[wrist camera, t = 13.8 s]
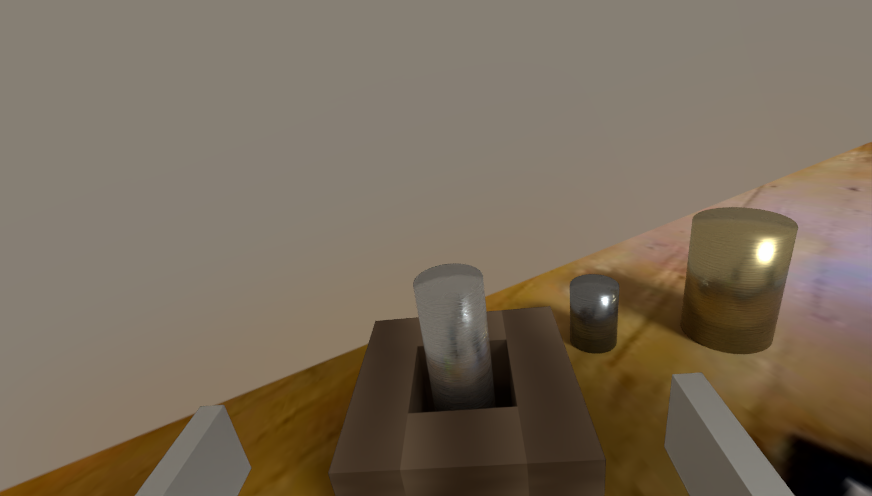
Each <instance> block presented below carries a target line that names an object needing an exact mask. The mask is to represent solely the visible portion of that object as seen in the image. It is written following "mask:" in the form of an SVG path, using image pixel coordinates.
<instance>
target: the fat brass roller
mask: <svg viewBox="0 0 872 496" xmlns="http://www.w3.org/2000/svg"><path fill="white" fill-rule="evenodd" d="M797 230H798V225H797V224H796V222H795V221H793V220H792V219H790V218H788V217H786V216H784V215H781V214H778V213H774V212H770V211H765V210H760V209H752V208H738V207H729V208H716V209H710V210H705V211H702V212H700V213H698V214H696V215H695V216H694V217H693V220H692V229H691V237H690V246H689V255H688V263H687V272H686V280H685V289H684V297H683V306H682V314H681V328H682V330H683V331H684V333H685V334H686V335H687V336H688V337H689V338H691V339H692V340H694V341H695V342H697V343H699V344H701V345H703V346H705V347H708V348H710V349H714V350H717V351H721V352H726V353H733V354H751V353H757V352H761V351H763V350H765V349H767V348H768V347H770V345H771V344H772V341H773V337H774V332H775V328H776V324H777V319H778V315H779V310H780V306H781V301H782V297H783V292H784V288H785V283H786V279H787V274H788V270H789V266H790V261H791V257H792V252H793V248H794V243H795V239H796V234H797Z"/></svg>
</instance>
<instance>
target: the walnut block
mask: <svg viewBox="0 0 872 496" xmlns="http://www.w3.org/2000/svg"><path fill="white" fill-rule="evenodd" d="M486 313H487V324H488V334H489V344H490V354H491V364H492V374H493V384H494V394H495V404H496V408H487V409H471V410H455V411H440V412H435V407H434V401H433V395H432V389H431V384H430V378H429V372H428V367H427V361H426V355H425V349H424V344H423V338H422V332H421V327H420V321H419V317H418V318H406V319H394V320H383V321H376V322H375V324H374V328H373V331H372V334H371V337H370V340H369V344H368V347H367V350H366V353H365V357H364V360H363V363H362V366H361V369H360V373H359V376H358V379H357V382H356V386H355V389H354V392H353V395H352V398H351V402H350V405H349V408H348V411H347V414H346V418H345V421H344V424H343V427H342V431H341V434H340V437H339V440H338V443H337V447H336V450H335V453H334V456H333V460H332V463H331V466H330V469H329V472H328V475H329V478H330V481H331V484H332V487H333V490H334V493H335V496H604V491H605V466H606V459H605V456H604V453H603V451H602V448H601V445H600V442H599V440H598V437H597V434H596V431H595V429H594V426H593V423H592V420H591V418H590V415H589V412H588V409H587V406H586V404H585V401H584V398H583V395H582V393H581V390H580V387H579V384H578V382H577V379H576V376H575V373H574V371H573V368H572V365H571V362H570V360H569V357H568V354H567V351H566V348H565V346H564V343H563V340H562V337H561V335H560V332H559V329H558V326H557V324H556V321H555V318H554V315H553V313H552V310H551V307H550V306H548V307H536V308H524V309H513V310H501V311H489V312H486Z"/></svg>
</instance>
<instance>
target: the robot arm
mask: <svg viewBox="0 0 872 496" xmlns="http://www.w3.org/2000/svg"><path fill="white" fill-rule="evenodd" d="M664 447H665V449H666V451H667V453H668V455H669V457H670V459H671V461H672V463H673V465H674V466H675V468H676V470H677V472H678V474H679V476H680V478H681V480H682V482H683V484H684V486H685V488H686V490H687V492H688V493H689V495H690V496H794V494H793V493H792V492H791V490H790V489H789V488H788V486H787V485H786V484H785V482H784V481H783V480H782V478H781V477H780V476H779V474H778V473H777V472H776V470H775V469H774V468H773V466H772V465H771V464H770V462H769V461H768V460H767V458H766V457H765V456H764V454H763V453H762V452H761V451H760V449H759V448H758V447H757V445H756V444H755V443H754V441H753V440H752V439H751V437H750V436H749V435H748V433H747V432H746V431H745V429H744V428H743V427H742V425H741V424H740V423H739V421H738V420H737V419H736V417H735V416H734V415H733V413H732V412H731V411H730V410H729V408H728V407H727V406H726V404H725V403H724V402H723V400H722V399H721V398H720V396H719V395H718V394H717V392H716V391H715V390H714V388H713V387H712V386H711V384H710V383H709V382H708V380H707V379H706V378H705V376H704V375H703V374H702V373H688V374H673V375H672V382H671V391H670V400H669V409H668V418H667V427H666V436H665V445H664ZM250 470H251V466H250V464H249V461H248V459H247V457H246V455H245V452H244V450H243V448H242V445H241V443H240V441H239V438H238V436H237V434H236V432H235V429H234V427H233V425H232V422H231V420H230V418H229V415H228V413H227V411H226V409H225V406H224V405H214V406H201V407H200V408H199V409H198V410H197V412H196V413H195V415H194V416H193V417H192V419H191V420H190V421H189V423H188V424H187V425H186V427H185V428H184V430H183V431H182V432H181V434H180V435H179V436H178V438H177V439H176V440H175V442H174V443H173V445H172V446H171V447H170V449H169V450H168V451H167V453H166V454H165V455H164V457H163V458H162V459H161V461H160V462H159V464H158V465H157V466H156V468H155V469H154V470H153V472H152V473H151V474H150V476H149V477H148V479H147V480H146V481H145V483H144V484H143V485H142V487H141V488H140V489H139V491H138V492H137V494H136V495H135V496H238V494H239V492H240V490H241V488H242V486H243V484H244V482H245V480H246V478H247V476H248V474H249V472H250Z"/></svg>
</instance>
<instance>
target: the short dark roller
mask: <svg viewBox="0 0 872 496" xmlns="http://www.w3.org/2000/svg"><path fill="white" fill-rule="evenodd" d="M618 302H619V284H618V283H617V281H615V280H614V279H612V278H610V277H607V276H604V275H597V274H588V275H582V276H578V277H576V278H574V279H573V280H572V281H571V282H570V340H571V343H572V344H573V345H574V346H575V347H576V348H578V349H579V350H581V351H584V352H588V353H605V352H608V351H610V350H612V349H613V348H614V347H615V346H616V343H617V323H618Z"/></svg>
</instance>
